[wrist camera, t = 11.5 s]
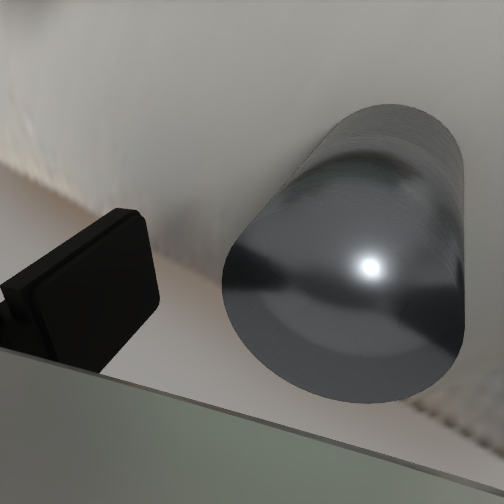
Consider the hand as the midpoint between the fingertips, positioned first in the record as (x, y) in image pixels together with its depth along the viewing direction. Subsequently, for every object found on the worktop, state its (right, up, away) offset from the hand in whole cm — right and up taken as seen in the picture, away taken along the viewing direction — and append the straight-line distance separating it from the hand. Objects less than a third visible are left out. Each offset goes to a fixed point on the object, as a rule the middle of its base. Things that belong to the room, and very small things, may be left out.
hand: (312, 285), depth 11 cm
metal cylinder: (+3, +3, +5) cm, 7 cm away
